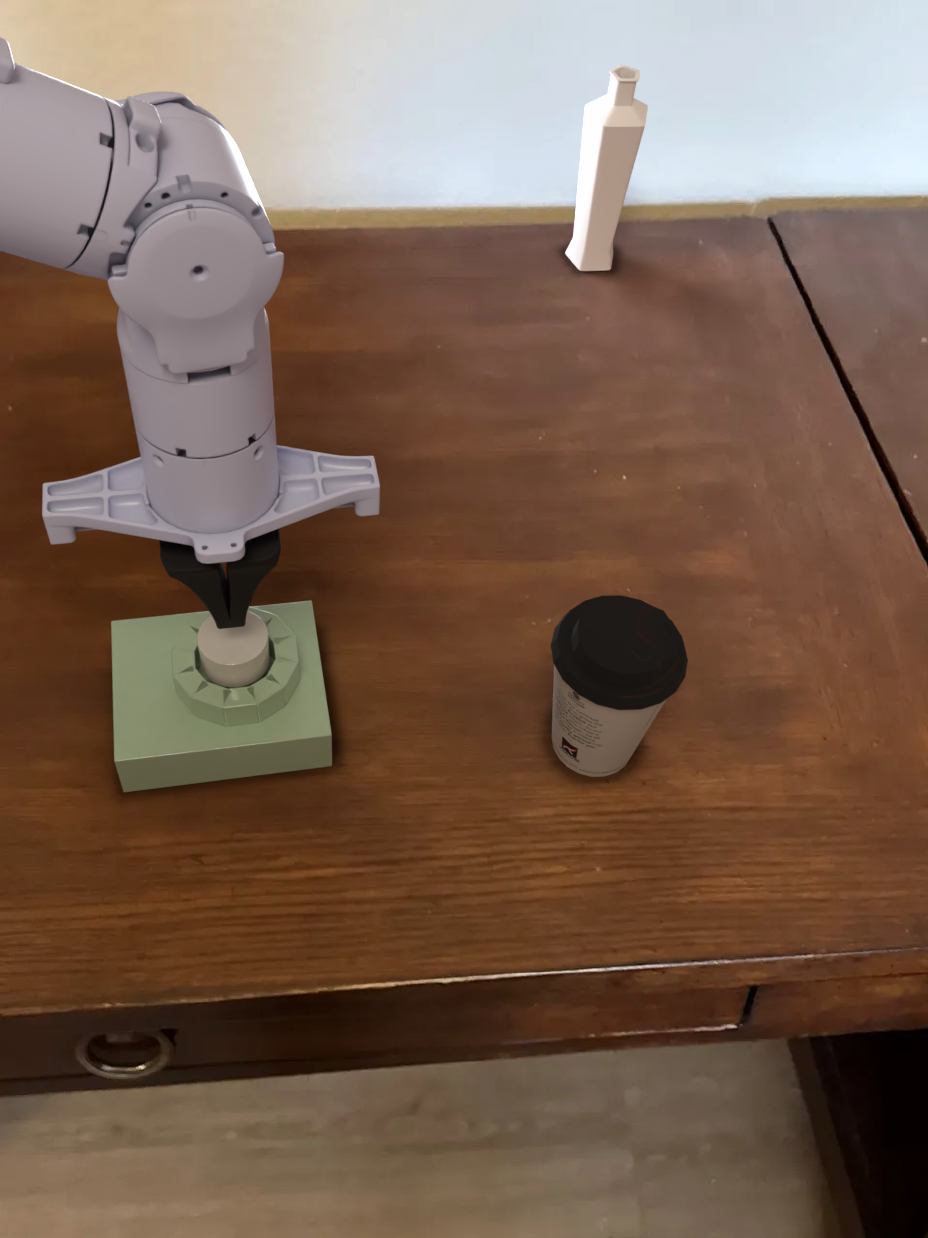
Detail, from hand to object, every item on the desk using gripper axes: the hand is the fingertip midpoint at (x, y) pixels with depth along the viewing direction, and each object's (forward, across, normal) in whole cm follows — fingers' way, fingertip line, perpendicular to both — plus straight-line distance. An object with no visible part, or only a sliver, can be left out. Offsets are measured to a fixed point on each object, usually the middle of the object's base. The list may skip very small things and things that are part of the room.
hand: (229, 612), depth 61 cm
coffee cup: (+9, +19, -5) cm, 22 cm away
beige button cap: (+4, 0, 0) cm, 4 cm away
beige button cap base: (+9, -1, 0) cm, 9 cm away
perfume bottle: (+9, +30, +38) cm, 49 cm away
